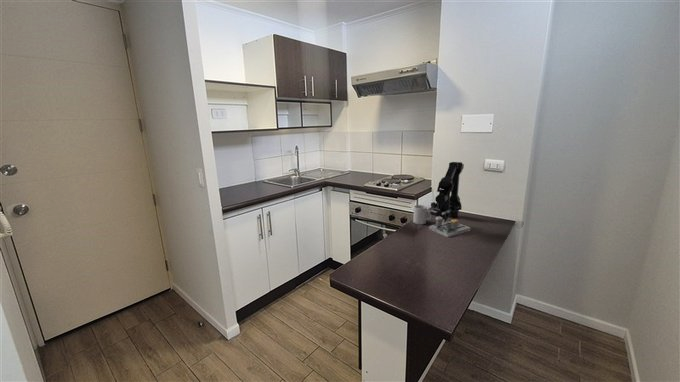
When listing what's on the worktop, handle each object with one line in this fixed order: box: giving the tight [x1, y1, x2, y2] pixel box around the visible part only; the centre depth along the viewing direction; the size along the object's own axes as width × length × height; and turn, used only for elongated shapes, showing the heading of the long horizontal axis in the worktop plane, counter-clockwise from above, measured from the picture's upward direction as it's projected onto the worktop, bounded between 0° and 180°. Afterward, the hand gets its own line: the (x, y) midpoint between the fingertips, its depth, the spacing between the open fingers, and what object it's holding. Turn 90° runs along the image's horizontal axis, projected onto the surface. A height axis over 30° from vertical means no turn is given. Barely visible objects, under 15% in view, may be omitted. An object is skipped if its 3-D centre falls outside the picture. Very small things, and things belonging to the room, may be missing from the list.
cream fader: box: [435, 216, 443, 227], centre depth 176 cm, size 3×2×5 cm
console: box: [428, 220, 471, 238], centre depth 176 cm, size 20×15×3 cm
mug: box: [412, 204, 433, 225], centre depth 188 cm, size 12×8×11 cm
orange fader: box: [450, 218, 459, 229], centre depth 171 cm, size 3×2×5 cm
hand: (443, 223), depth 178 cm, fingers closed
